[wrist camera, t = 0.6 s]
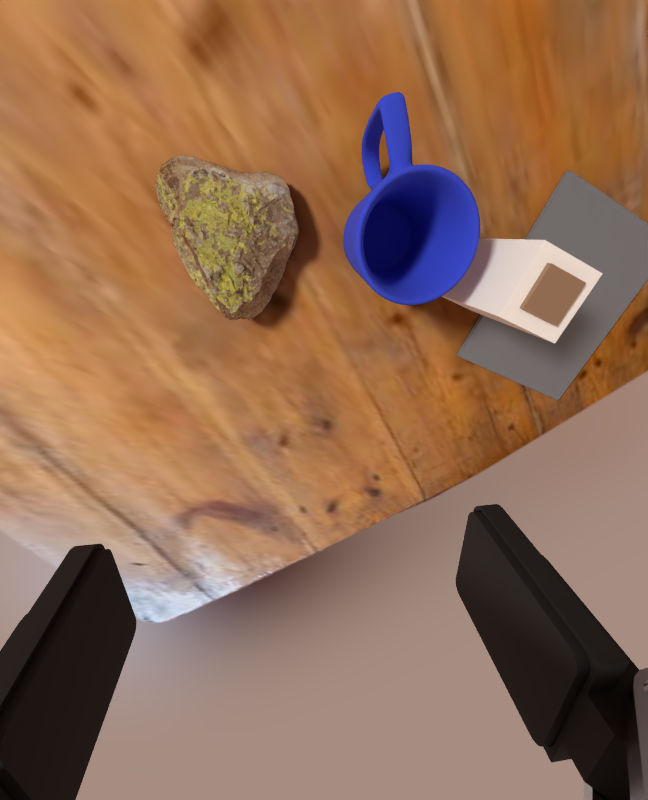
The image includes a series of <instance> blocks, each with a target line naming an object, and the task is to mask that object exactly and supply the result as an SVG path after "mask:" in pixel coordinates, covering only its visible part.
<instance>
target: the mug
mask: <svg viewBox="0 0 648 800" xmlns="http://www.w3.org/2000/svg"><path fill="white" fill-rule="evenodd" d="M383 130H384V132H385V138H386V143H387V149H388V154H389V162H390V167H389V172H388V174H387V175H386V177H385V178H384V179H383V178H382V174H381V169H380V162H379V143H380V138H381V135H382V132H383ZM362 161H363V168H364V173H365V177H366V180H367V183H368V185H369V187H370V188H371V189H372V190H371V192H370V193H369V194H368V195H367V196H366V197H365V198H364V199H363V200H362V201H361V202H360V203H359V204H358V205H357V206H356V207H355V208H354V210H353V211H352V213H351V214H350V216H349V218H348V220H347V223H346V226H345V230H344V250H345V254H346V256H347V259H348V261H349V263H350V264H351V266H352V267H353V269H354V270H355V271H356V272H357V273H358V274H359V275H360V276H361V277H362V278H363V279H364V280H365V282H366V283H367V284H368V285H369V286H370V287H371V288H372V289H373V290H374V291H375V292H376V293H378V294H379V295H380V296H382V297H383V298H385V299H387V300H389V301H391V302H394V303H397V304H402V305H419V304H424V303H428V302H430V301H433V300H435V299H437V298H439V297H441V296H443V295H444V294H446V293H447V292H449V291H450V290H451V289H452V288H453V287H454V286H456V285H457V284H458V283H459V281H460V280H461V279H462V278H463V276H464V275H465V274H466V272H467V270H468V269H469V267H470V265H471V263H472V261H473V259H474V256H475V254H476V251H477V247H478V243H479V237H480V218H479V212H478V207H477V204H476V201H475V199H474V197H473V195H472V193H471V191H470V189H469V188H468V187H467V185H466V184H465V183H464V182H463V181H462V180H461V179H460V178H459V177H458V176H457V175H455V174H454V173H452V172H451V171H449V170H447V169H444V168H442V167H438V166H434V165H416V166H413V165H412V144H411V134H410V127H409V119H408V113H407V108H406V102H405V98H404V96H403V94H402V93H400V92H396V93H391V94H389V95H386V96H384V97H383V98H381V99H380V101H379V102H378V104H377V105H376V107H375V109H374V111H373V113H372V115H371V117H370V119H369V121H368V124H367V126H366V129H365V132H364V136H363V141H362Z"/></svg>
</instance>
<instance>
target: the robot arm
mask: <svg viewBox="0 0 648 800" xmlns="http://www.w3.org/2000/svg"><path fill="white" fill-rule="evenodd" d="M456 587H457V590H458V593H459V595H460V597H461V599H462V601H463V603H464V605H465V607H466V609H467V611H468V613H469V615H470V617H471V619H472V621H473V623H474V625H475V627H476V629H477V631H478V633H479V635H480V637H481V639H482V641H483V643H484V645H485V646H486V649H487V651H488V653H489V655H490V656H491V658H492V660H493V662H494V664H495V666H496V668H497V670H498V672H499V674H500V676H501V678H502V680H503V682H504V684H505V686H506V688H507V690H508V692H509V694H510V696H511V698H512V700H513V702H514V704H515V706H516V708H517V710H518V711H519V714H520V715H521V717H522V720H523V722H524V723H525V725H526V727H527V729H528V731H529V733H530V735H531V737H532V739H533V740H534V741H535V743H536V744H537V745H539V746H543V747H544V749H545V751H546V752H547V755H548V757H549V759H550V761H551V762H556V761H562V760H567V759H572V760H573V762H574V764H575V766H576V768H577V769H578V771H579V773H580V775H581V776H582V778H583V780H584V800H648V668H645V669H641V670H639V669H638V668H637V667H636V666H635V664H634V663H633V662H632V661H631V660H630V658H629V657H628V656H627V655H626V654H625V652H624V651H623V650H622V649H621V648H620V647H619V645H618V644H617V643H616V642H615V641H614V639H613V638H612V637H611V636H610V634H609V633H608V632H607V631H606V630H605V629H604V627H603V626H602V625H601V624H600V622H599V621H598V620H597V619H596V618H595V617H594V615H593V614H592V613H591V612H590V611H589V609H588V608H587V607H586V606H585V605H584V603H583V602H582V601H581V600H580V598H579V597H578V596H577V595H576V594H575V592H573V590H572V589H571V588H570V587H569V585H568V584H567V583H566V582H565V581H564V579H563V578H562V577H561V576H560V575H559V573H558V572H557V571H556V570H555V569H554V567H553V566H552V565H551V564H550V563H549V561H548V560H547V559H546V558H545V557H544V556H543V555H541V554H540V553H539V551H538V550H537V549H536V548H535V547H534V546H533V544H532V543H531V542H530V541H529V539H528V538H527V537H526V536H525V535H524V533H523V532H522V531H521V530H520V529H519V527H518V526H517V525H516V524H515V522H514V521H513V520H512V519H511V518H510V517H509V515H508V514H507V513H506V512H505V510H504V509H503V508H502V507H501V506H500V505H497V504H494V505H484V506H477V507H475V508H474V512H471V513H470V514H469V516H468V521H467V526H466V531H465V536H464V541H463V546H462V551H461V556H460V561H459V566H458V572H457V576H456ZM135 630H136V617H135V615H134V612H133V609H132V606H131V604H130V601H129V598H128V596H127V593H126V590H125V587H124V585H123V582H122V579H121V576H120V574H119V571H118V568H117V565H116V563H115V560H114V557H113V555H112V552H111V550H109V549H105V548H104V546H103V545H102V544H93V545H83V546H75V547H73V548H72V549H71V550H70V551H69V552H68V554H67V555H66V557H65V558H64V560H63V561H62V563H61V564H60V566H59V567H58V569H57V571H56V572H55V573H54V575H53V577H52V578H51V580H50V581H49V583H48V584H47V586H46V587H45V589H44V590H43V592H42V593H41V595H40V596H39V598H38V599H37V601H36V602H35V604H34V605H33V607H32V608H31V610H30V611H29V613H28V614H26V615H25V616H24V617H23V619H22V620H21V621H20V623H19V624H18V625H17V627H16V628H15V630H14V631H13V633H12V634H11V636H10V637H9V639H8V640H7V642H6V643H5V645H4V646H3V648H2V649H1V651H0V800H75V799H76V796H77V794H78V791H79V788H80V785H81V783H82V779H83V777H84V774H85V771H86V768H87V766H88V763H89V760H90V757H91V754H92V751H93V749H94V746H95V743H96V741H97V738H98V735H99V732H100V729H101V727H102V724H103V721H104V718H105V715H106V713H107V710H108V707H109V704H110V702H111V698H112V696H113V693H114V690H115V688H116V685H117V682H118V679H119V676H120V673H121V671H122V668H123V665H124V662H125V660H126V657H127V654H128V651H129V649H130V646H131V643H132V640H133V637H134V634H135Z"/></svg>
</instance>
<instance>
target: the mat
mask: <svg viewBox="0 0 648 800" xmlns="http://www.w3.org/2000/svg"><path fill="white" fill-rule="evenodd" d="M526 240H546V241H548V242H549V243H551V244H553V245H555V246H556V247H558V248H560V249H562V250H563V251H565V252H567V253H568V254H570V255H572V256H574V257H575V258H577V259H579V260H580V261H582V262H584V263H586V264H587V265H589V266H591V267H592V268H594V269H596V270H598V271H599V272H601V273H603V274H602V275H601V277H600V278H599V280H598V281H597V283H596V284H595V286H594V287H593V289H592V290H591V292H590V293H589V294H588V296H587V297H586V299H585V300H584V302H583V303H582V305H581V306H580V308H579V309H578V311H577V312H576V314H575V315H574V316H573V318H572V319H571V321H570V322H569V324H568V325H567V327H566V328H565V330H564V331H563V333H562V334H561V336H560V337H559V338H558V340H557V341H556V343H552V342H550V341H547V340H544V339H542V338H539V337H537V336H534V335H532V334H529V333H527V332H524V331H522V330H519V329H516V328H514V327H511V326H509V325H506V324H504V323H501V322H499V321H496V320H494V319H491V318H489V317H486V316H483V315H480V316H479V318H478V320H477V321H476V323H475V325H474V326H473V328H472V330H471V331H470V333H469V335H468V337H467V338H466V340H465V342H464V343H463V345H462V347H461V348H460V350H459V352H458V353H457V356H459V357H461V358H463V359H465V360H468V361H470V362H472V363H474V364H477V365H479V366H481V367H483V368H486V369H488V370H490V371H493V372H495V373H497V374H499V375H502V376H504V377H506V378H508V379H511V380H513V381H515V382H518V383H520V384H522V385H524V386H527V387H529V388H531V389H533V390H536V391H538V392H540V393H543V394H545V395H547V396H549V397H552V398H554V399H556V400H559V399H560V397H561V396H562V395H563V393H564V392H565V391H566V389H567V388H568V387H569V385H570V384H571V382H572V381H573V380H574V378H575V377H576V376H577V374H578V373H579V372H580V370H581V369H582V368H583V366H584V365H585V364H586V362H587V361H588V359H589V358H590V357H591V355H592V354H593V353H594V351H595V350H596V349H597V347H598V346H599V345H600V343H601V342H602V341H603V339H604V338H605V336H606V335H607V334H608V332H609V331H610V330H611V328H612V327H613V326H614V324H615V323H616V322H617V320H618V319H619V318H620V316H621V315H622V313H623V312H624V311H625V309H626V308H627V307H628V305H629V304H630V303H631V301H632V300H633V299H634V297H635V296H636V295H637V293H638V292H639V290H640V289H641V288H642V286H643V285H644V284H645V282H646V281H647V280H648V223H646V222H645V221H643V220H642V219H640V218H639V217H637V216H636V215H634V214H633V213H632V212H630V211H629V210H627V209H626V208H624V207H623V206H621V205H620V204H618V203H617V202H616V201H614V200H613V199H611V198H610V197H608V196H607V195H605V194H604V193H602V192H601V191H599V190H598V189H597V188H595V187H594V186H592V185H591V184H589V183H588V182H586V181H585V180H583V179H582V178H580V177H579V176H578V175H576V174H575V173H573V172H572V171H566V172H565V173H564V175H563V177H562V178H561V180H560V182H559V183H558V185H557V187H556V188H555V190H554V192H553V193H552V195H551V197H550V198H549V200H548V202H547V203H546V205H545V207H544V209H543V210H542V212H541V214H540V215H539V217H538V219H537V220H536V222H535V224H534V225H533V227H532V229H531V230H530V232H529V234H528V235H527V237H526Z"/></svg>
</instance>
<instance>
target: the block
mask: <svg viewBox="0 0 648 800" xmlns="http://www.w3.org/2000/svg"><path fill="white" fill-rule="evenodd" d="M602 274H603V273H601V272H599V271H598V270H596V269H594V268H592V267H591V266H589V265H587V264H586V263H584V262H582V261H580V260H579V259H577V258H575V257H574V256H572V255H570V254H568V253H567V252H565V251H563V250H562V249H560V248H558V247H556V246H555V245H553V244H551V243H549V242H548V241H546V240H526V239H479V243H478V247H477V251H476V254H475V256H474V259H473V261H472V263H471V265H470V267H469V269H468V270H467V272H466V274H465V275H464V276H463V278H462V279H461V280H460V281H459V283H458V284H457V285H456V286H454V287H453V288H452V289H451V290H450V291H449V292H447V293H446V294H444V295H443V296H441V297H443V298H446V299H448V300H450V301H452V302H454V303H456V304H458V305H460V306H462V307H464V308H467V309H469V310H471V311H473V312H476V313H478V314H481V315H483V316H486V317H489V318H491V319H494V320H496V321H499V322H501V323H504V324H506V325H509V326H511V327H514V328H516V329H519V330H522V331H524V332H527V333H529V334H532V335H534V336H537V337H539V338H542V339H544V340H547V341H550V342H552V343H556V341H557V340H558V338H559V337H560V336H561V334H562V333H563V331H564V330H565V328H566V327H567V325H568V324H569V322H570V321H571V319H572V318H573V316H574V315H575V314H576V312H577V311H578V309H579V308H580V306H581V305H582V303H583V302H584V300H585V299H586V297H587V296H588V294H589V293H590V292H591V290H592V289H593V287H594V286H595V284H596V283H597V281H598V280H599V278H600V277H601V275H602Z"/></svg>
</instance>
